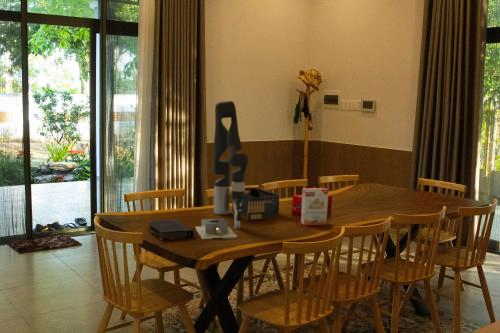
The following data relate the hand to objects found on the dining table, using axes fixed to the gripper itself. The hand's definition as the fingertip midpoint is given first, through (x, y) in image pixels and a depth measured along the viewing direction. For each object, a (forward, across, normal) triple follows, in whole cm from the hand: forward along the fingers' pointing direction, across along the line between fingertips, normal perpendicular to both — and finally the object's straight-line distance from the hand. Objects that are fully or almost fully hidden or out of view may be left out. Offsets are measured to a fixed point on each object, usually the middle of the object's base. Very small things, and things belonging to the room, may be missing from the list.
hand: (237, 219), depth 312 cm
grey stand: (+5, +9, -14) cm, 17 cm away
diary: (+6, +5, -38) cm, 39 cm away
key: (+5, 0, 0) cm, 5 cm away
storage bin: (+6, -36, +20) cm, 42 cm away
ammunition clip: (+5, -16, +15) cm, 23 cm away
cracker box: (+5, -2, +46) cm, 46 cm away
